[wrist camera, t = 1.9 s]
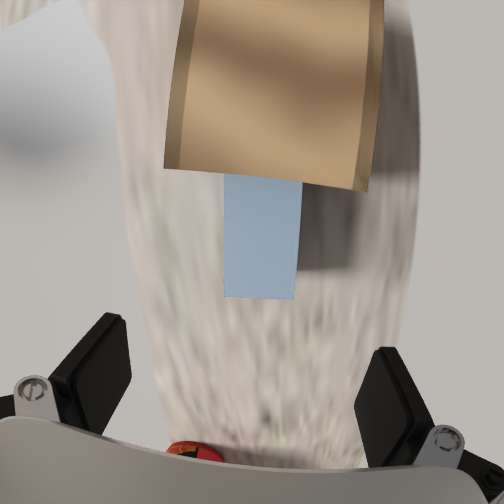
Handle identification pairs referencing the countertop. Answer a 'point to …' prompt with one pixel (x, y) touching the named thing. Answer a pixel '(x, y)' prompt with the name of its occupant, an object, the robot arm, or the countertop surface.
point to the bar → (261, 236)
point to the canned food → (195, 451)
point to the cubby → (277, 89)
